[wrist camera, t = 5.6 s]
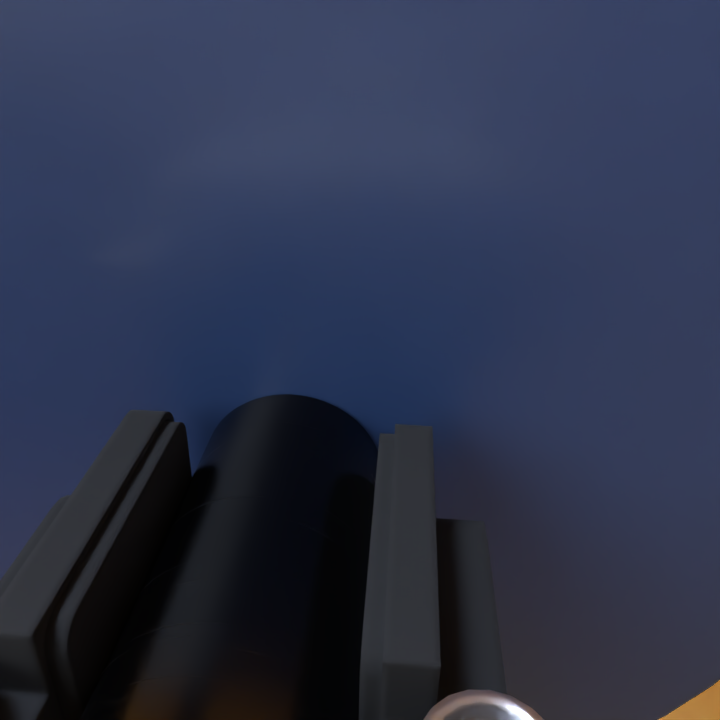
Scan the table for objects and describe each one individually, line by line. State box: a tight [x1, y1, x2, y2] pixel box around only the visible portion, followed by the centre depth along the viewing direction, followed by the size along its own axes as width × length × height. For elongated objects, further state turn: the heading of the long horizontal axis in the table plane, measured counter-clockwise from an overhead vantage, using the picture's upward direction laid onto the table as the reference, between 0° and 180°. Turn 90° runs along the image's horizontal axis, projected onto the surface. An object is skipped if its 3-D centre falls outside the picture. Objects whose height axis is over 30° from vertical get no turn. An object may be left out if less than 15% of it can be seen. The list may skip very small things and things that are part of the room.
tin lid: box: [0, 0, 720, 720], centre depth 9 cm, size 18×18×7 cm
